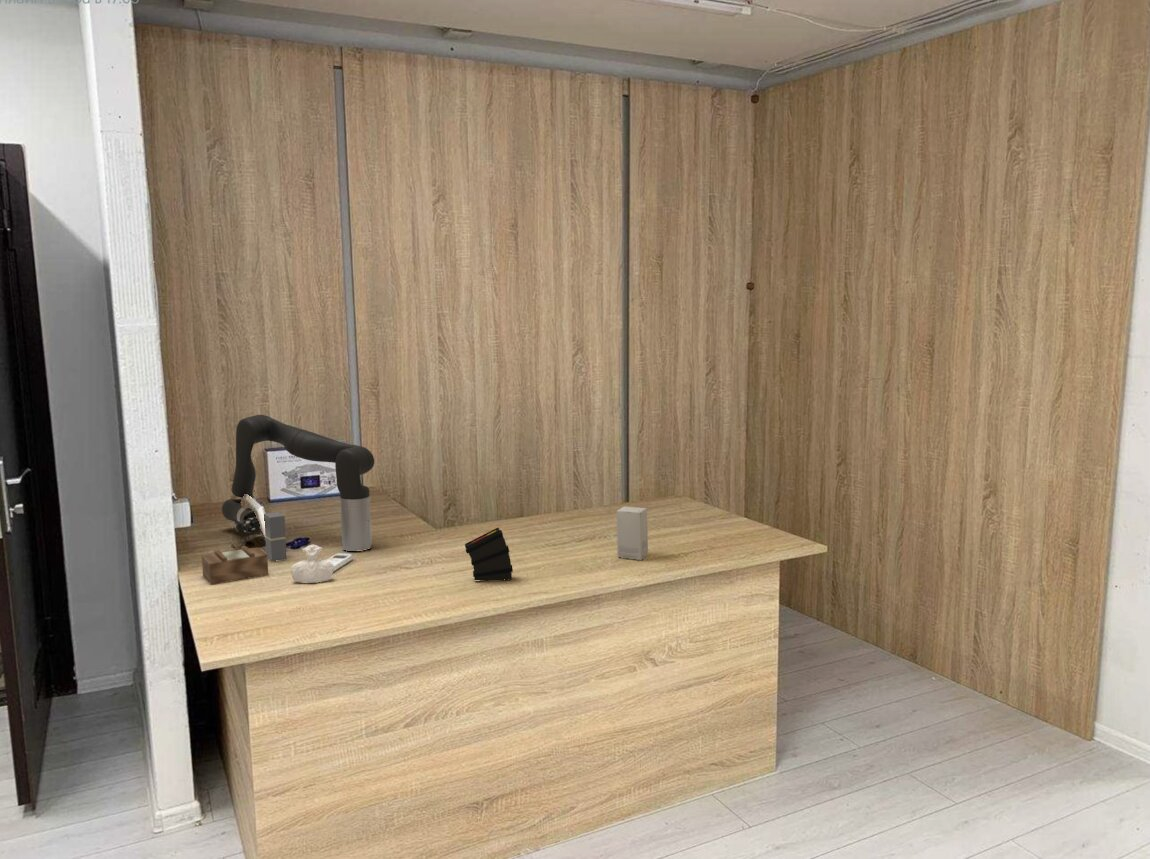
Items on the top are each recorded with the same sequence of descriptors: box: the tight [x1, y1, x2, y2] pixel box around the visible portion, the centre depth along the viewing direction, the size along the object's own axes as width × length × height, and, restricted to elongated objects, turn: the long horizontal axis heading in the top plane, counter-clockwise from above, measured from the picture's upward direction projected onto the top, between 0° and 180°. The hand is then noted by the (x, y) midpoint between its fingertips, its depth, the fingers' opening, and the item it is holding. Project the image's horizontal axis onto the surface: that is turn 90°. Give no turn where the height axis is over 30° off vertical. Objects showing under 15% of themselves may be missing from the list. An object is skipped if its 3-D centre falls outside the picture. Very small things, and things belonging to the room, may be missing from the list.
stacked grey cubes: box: [264, 511, 287, 562], centre depth 274 cm, size 6×5×14 cm
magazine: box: [464, 527, 514, 581], centre depth 253 cm, size 4×13×15 cm, turn 98°
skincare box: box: [616, 505, 649, 561], centre depth 275 cm, size 8×7×16 cm
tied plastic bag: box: [290, 544, 335, 584], centre depth 253 cm, size 12×8×11 cm
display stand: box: [201, 545, 269, 585], centre depth 258 cm, size 16×10×7 cm, turn 125°
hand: (264, 528), depth 282 cm, fingers open, 8 cm apart
